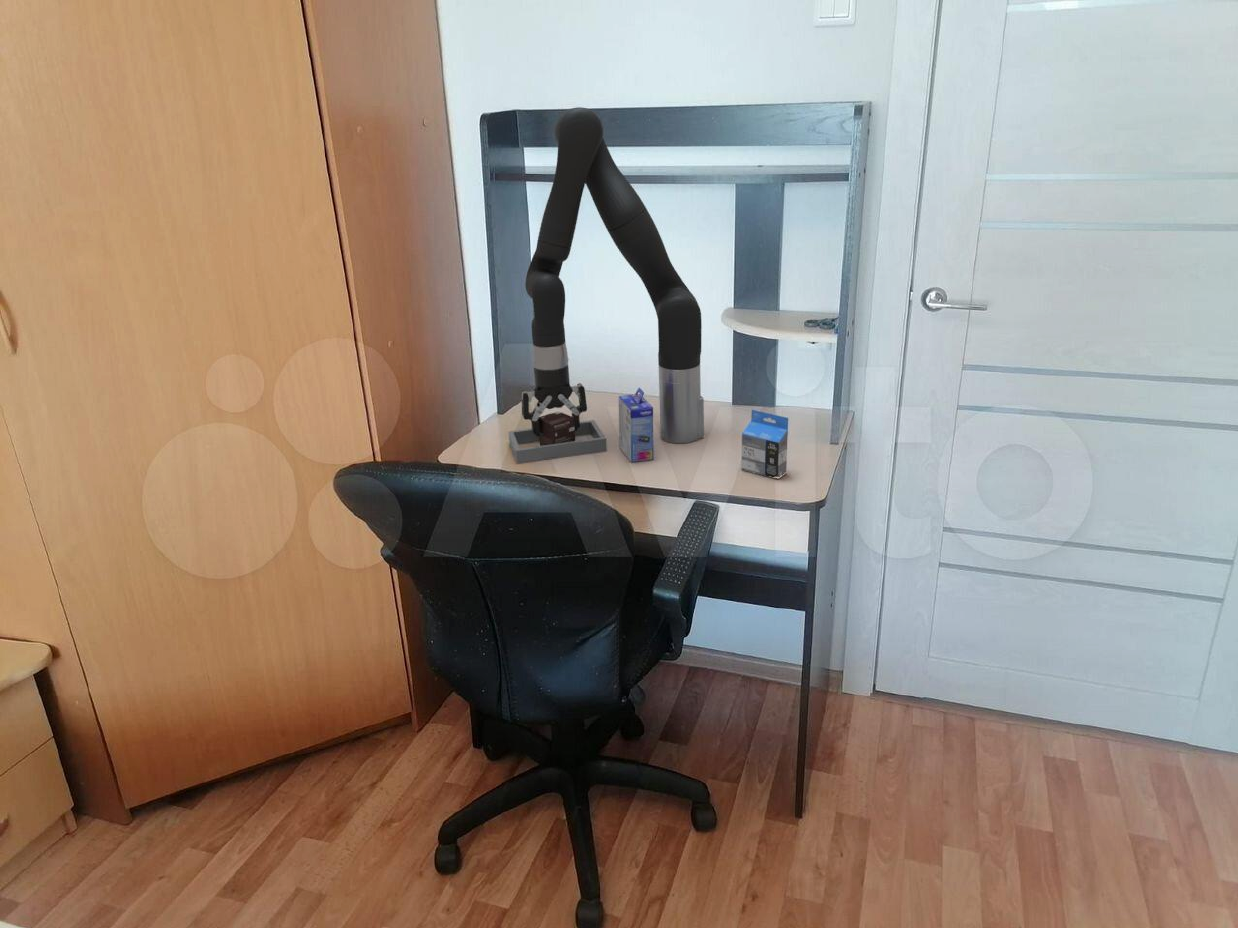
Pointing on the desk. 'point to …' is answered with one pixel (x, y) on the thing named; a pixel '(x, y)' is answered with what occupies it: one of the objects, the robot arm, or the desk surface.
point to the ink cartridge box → (636, 427)
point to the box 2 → (557, 449)
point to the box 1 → (556, 428)
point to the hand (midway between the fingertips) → (556, 432)
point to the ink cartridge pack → (765, 445)
